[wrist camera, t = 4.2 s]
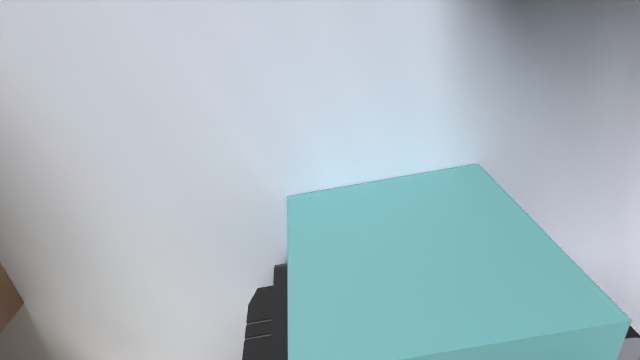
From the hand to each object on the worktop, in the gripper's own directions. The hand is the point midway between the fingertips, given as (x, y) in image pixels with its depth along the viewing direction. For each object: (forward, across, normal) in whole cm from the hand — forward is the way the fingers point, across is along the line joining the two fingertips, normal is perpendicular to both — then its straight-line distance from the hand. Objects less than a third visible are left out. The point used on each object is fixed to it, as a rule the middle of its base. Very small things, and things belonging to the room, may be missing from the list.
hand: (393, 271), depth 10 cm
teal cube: (+1, 0, 0) cm, 1 cm away
